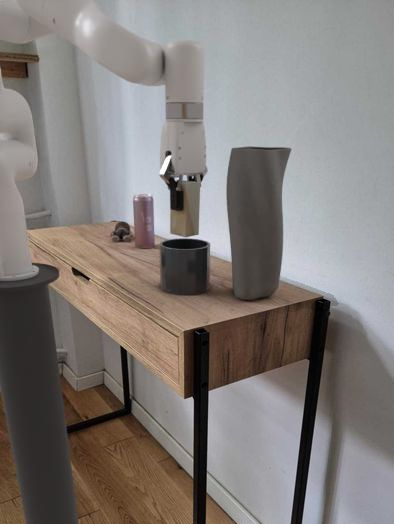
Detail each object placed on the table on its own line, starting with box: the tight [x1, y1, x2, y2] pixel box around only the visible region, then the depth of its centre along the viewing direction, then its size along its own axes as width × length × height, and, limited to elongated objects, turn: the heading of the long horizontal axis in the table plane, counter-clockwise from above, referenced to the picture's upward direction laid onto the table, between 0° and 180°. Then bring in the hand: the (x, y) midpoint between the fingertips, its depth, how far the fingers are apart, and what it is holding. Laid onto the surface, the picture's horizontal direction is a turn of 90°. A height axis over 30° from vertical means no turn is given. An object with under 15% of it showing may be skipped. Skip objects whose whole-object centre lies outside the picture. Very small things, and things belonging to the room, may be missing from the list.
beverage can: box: [132, 193, 156, 249], centre depth 144 cm, size 6×6×15 cm
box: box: [169, 179, 201, 238], centre depth 104 cm, size 5×4×11 cm
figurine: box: [108, 221, 135, 243], centre depth 156 cm, size 8×5×10 cm
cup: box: [158, 237, 211, 296], centre depth 109 cm, size 11×11×10 cm
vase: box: [225, 146, 292, 301], centre depth 100 cm, size 12×12×30 cm
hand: (184, 207), depth 104 cm, fingers closed on box, 4 cm apart
